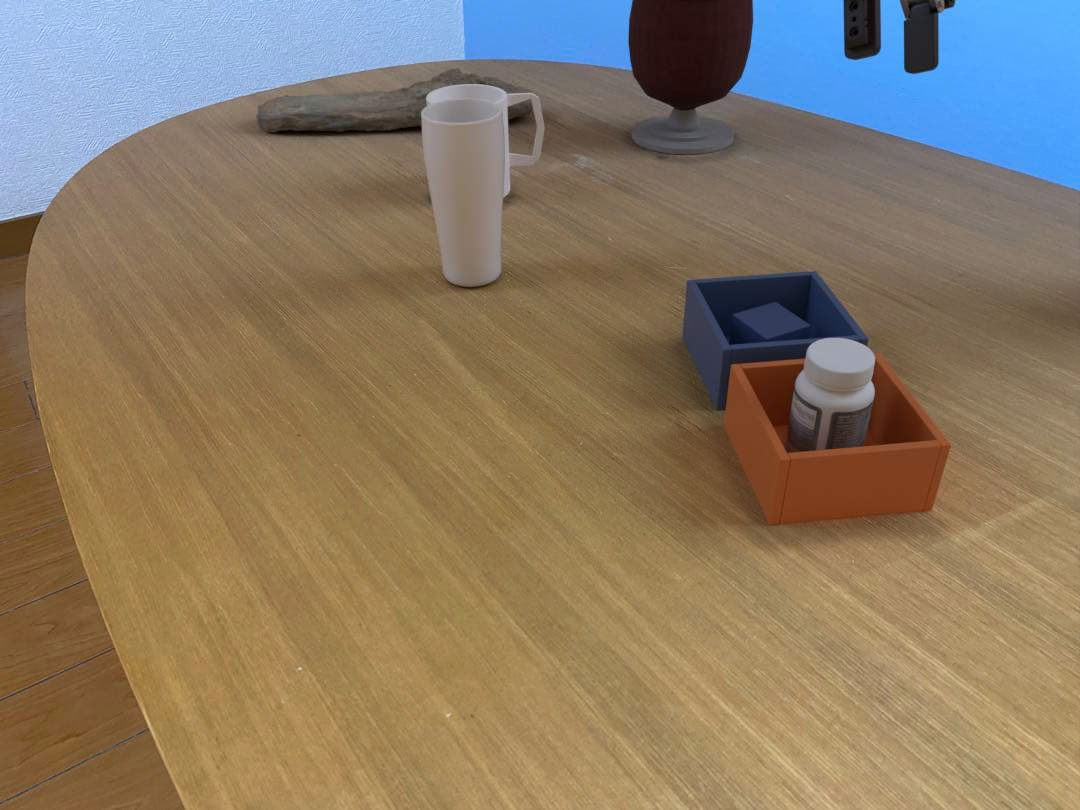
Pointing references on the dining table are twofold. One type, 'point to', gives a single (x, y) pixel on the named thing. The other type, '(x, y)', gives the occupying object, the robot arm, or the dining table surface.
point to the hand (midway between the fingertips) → (893, 64)
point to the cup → (503, 101)
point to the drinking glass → (466, 186)
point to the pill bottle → (832, 397)
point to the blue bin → (729, 295)
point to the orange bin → (833, 450)
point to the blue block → (767, 325)
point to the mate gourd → (687, 68)
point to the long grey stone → (371, 106)
